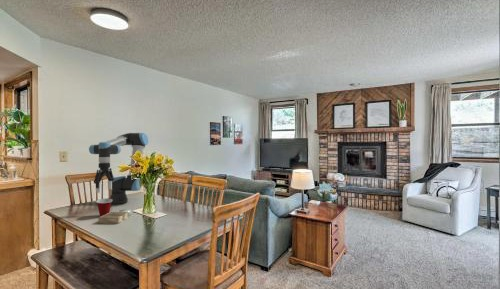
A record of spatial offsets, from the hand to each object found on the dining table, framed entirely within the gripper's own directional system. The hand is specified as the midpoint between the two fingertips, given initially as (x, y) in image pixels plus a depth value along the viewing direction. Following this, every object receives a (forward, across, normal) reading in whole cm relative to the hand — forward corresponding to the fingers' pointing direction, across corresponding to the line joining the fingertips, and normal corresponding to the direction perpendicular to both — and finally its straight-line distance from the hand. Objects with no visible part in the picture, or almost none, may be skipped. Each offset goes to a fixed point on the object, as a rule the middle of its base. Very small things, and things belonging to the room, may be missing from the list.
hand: (104, 190), depth 187 cm
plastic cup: (+19, 0, 0) cm, 19 cm away
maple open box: (+19, +10, +14) cm, 26 cm away
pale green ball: (+19, -2, +15) cm, 24 cm away
